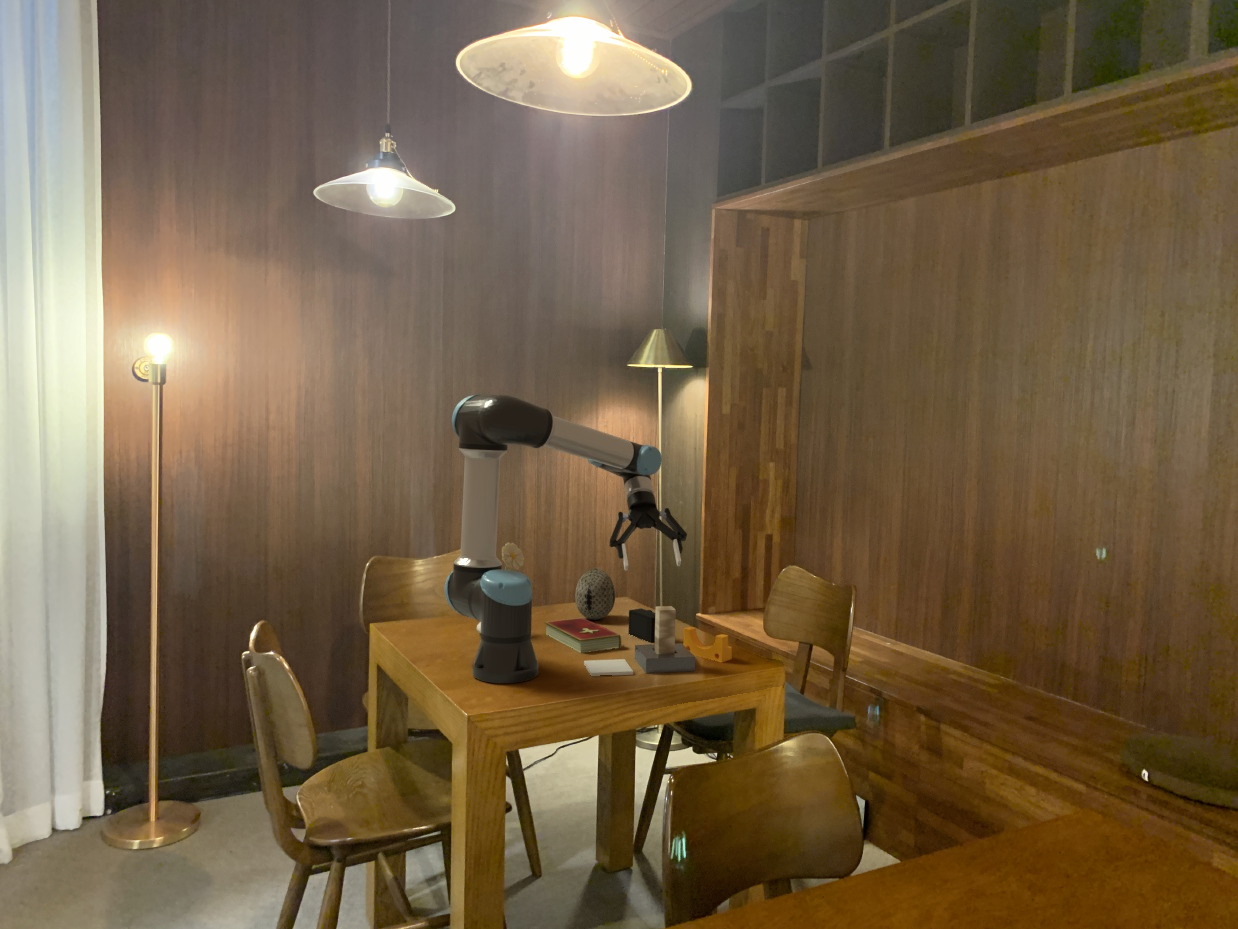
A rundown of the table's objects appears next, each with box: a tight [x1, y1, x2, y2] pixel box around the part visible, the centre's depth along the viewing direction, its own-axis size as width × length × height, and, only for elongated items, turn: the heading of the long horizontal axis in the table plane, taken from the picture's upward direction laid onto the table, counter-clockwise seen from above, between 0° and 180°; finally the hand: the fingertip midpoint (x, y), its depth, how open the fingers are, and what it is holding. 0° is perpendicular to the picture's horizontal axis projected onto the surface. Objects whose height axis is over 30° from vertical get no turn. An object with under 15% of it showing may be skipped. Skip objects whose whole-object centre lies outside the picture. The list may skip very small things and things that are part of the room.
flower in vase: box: [476, 541, 526, 634], centre depth 243 cm, size 13×11×25 cm
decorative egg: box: [574, 568, 616, 621], centre depth 262 cm, size 12×12×15 cm
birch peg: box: [654, 605, 677, 654], centre depth 217 cm, size 4×4×14 cm
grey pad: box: [583, 658, 634, 677], centre depth 213 cm, size 10×10×1 cm
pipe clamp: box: [682, 626, 733, 663], centre depth 226 cm, size 12×4×6 cm, turn 48°
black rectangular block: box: [628, 607, 655, 644], centre depth 243 cm, size 10×5×7 cm, turn 35°
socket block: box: [634, 642, 696, 674], centre depth 218 cm, size 12×12×4 cm
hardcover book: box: [544, 617, 622, 654], centre depth 238 cm, size 12×21×4 cm, turn 30°
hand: (653, 566), depth 228 cm, fingers open, 13 cm apart
